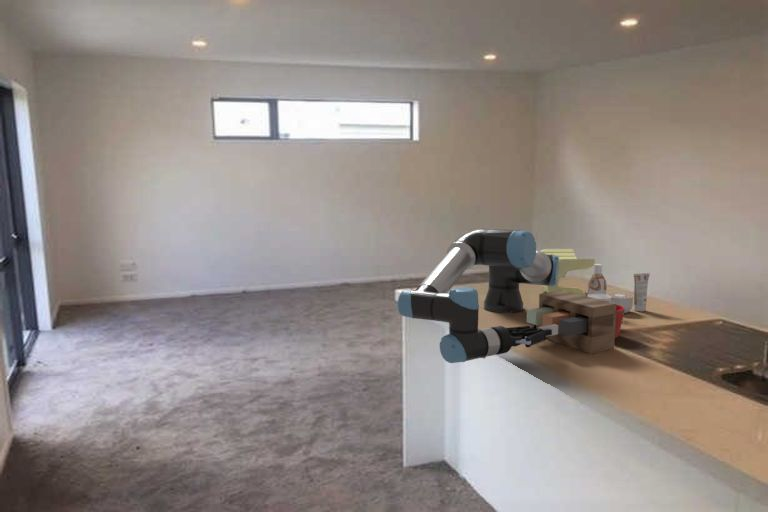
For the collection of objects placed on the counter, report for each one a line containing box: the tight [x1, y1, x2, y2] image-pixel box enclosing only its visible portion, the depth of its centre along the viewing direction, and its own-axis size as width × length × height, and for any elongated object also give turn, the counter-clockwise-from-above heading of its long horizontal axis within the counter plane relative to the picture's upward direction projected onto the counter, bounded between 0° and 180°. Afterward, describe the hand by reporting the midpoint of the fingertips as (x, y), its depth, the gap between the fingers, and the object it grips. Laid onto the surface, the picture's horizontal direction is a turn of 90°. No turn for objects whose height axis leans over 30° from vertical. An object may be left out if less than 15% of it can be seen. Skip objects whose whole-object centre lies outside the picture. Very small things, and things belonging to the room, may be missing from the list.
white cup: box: [586, 294, 611, 302], centre depth 206 cm, size 8×8×10 cm
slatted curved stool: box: [540, 248, 596, 296], centre depth 253 cm, size 30×16×18 cm, turn 179°
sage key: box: [526, 306, 554, 326], centre depth 188 cm, size 4×10×4 cm, turn 119°
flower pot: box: [615, 305, 625, 339], centre depth 192 cm, size 11×11×10 cm
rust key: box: [543, 310, 571, 329], centre depth 182 cm, size 4×10×4 cm, turn 119°
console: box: [537, 291, 616, 355], centre depth 185 cm, size 22×10×14 cm, turn 29°
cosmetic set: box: [587, 263, 651, 314], centre depth 222 cm, size 25×9×19 cm, turn 102°
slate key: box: [559, 315, 589, 336], centre depth 176 cm, size 4×10×4 cm, turn 119°
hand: (556, 329), depth 172 cm, fingers closed
